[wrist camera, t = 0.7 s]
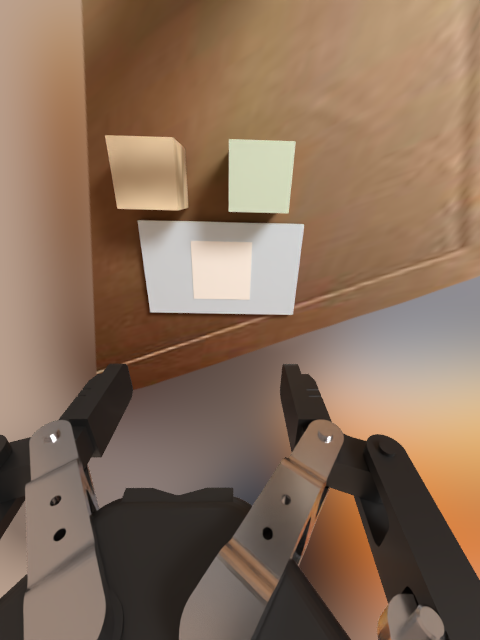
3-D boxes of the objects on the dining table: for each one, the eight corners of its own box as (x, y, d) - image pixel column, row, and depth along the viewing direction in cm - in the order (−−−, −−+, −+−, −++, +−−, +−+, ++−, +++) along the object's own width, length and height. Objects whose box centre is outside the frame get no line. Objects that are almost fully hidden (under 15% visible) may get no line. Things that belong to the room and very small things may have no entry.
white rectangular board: (139, 219, 31) (137, 220, 31) (302, 223, 32) (304, 224, 31) (152, 309, 37) (150, 312, 36) (291, 312, 37) (292, 315, 36)
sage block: (230, 149, 28) (228, 139, 23) (284, 151, 29) (295, 141, 23) (230, 208, 31) (228, 211, 26) (279, 210, 31) (288, 213, 26)
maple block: (130, 146, 28) (104, 135, 23) (185, 148, 28) (172, 137, 23) (138, 206, 31) (117, 208, 25) (188, 207, 31) (178, 210, 26)
